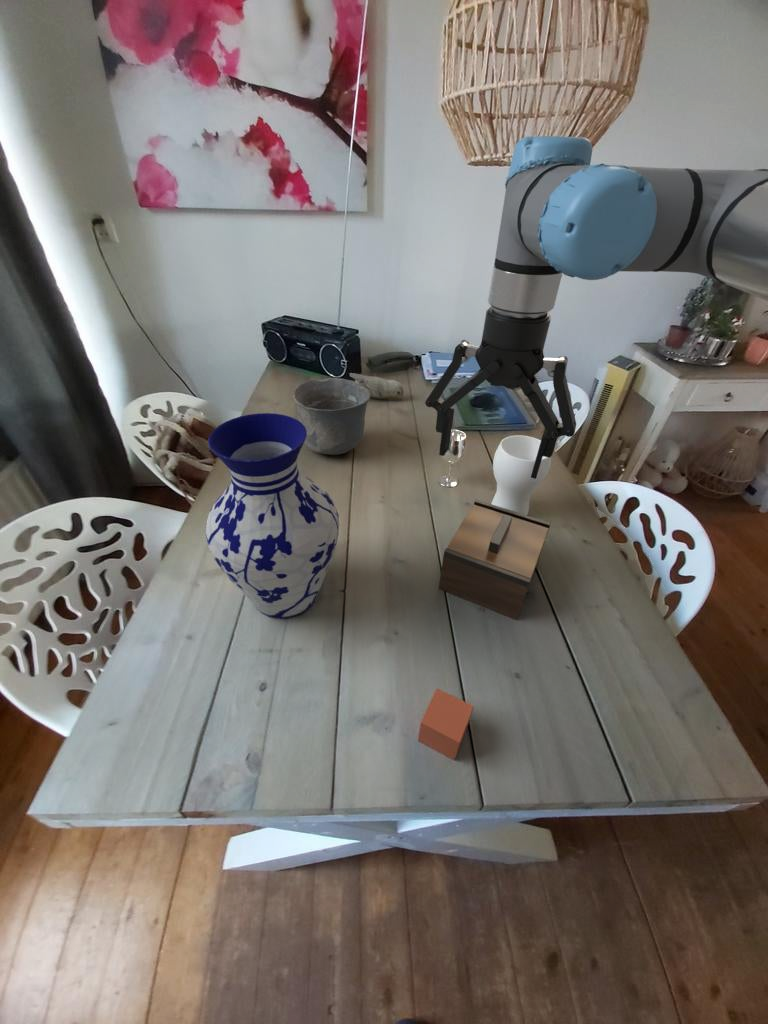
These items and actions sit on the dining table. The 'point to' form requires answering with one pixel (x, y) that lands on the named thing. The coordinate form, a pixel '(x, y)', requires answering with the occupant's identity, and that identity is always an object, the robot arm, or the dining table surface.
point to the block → (445, 723)
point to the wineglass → (454, 456)
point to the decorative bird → (379, 386)
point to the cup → (517, 472)
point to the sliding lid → (500, 540)
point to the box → (486, 576)
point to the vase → (270, 516)
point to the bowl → (331, 414)
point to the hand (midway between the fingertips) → (488, 462)
